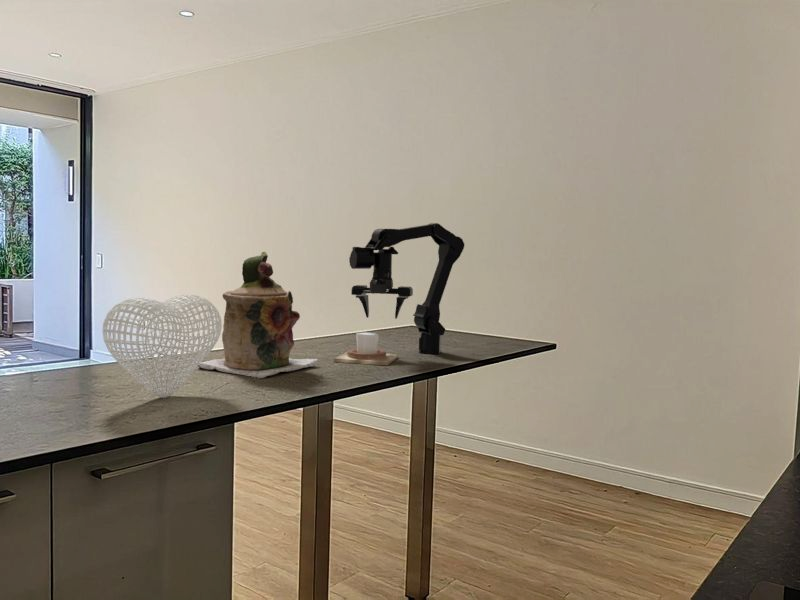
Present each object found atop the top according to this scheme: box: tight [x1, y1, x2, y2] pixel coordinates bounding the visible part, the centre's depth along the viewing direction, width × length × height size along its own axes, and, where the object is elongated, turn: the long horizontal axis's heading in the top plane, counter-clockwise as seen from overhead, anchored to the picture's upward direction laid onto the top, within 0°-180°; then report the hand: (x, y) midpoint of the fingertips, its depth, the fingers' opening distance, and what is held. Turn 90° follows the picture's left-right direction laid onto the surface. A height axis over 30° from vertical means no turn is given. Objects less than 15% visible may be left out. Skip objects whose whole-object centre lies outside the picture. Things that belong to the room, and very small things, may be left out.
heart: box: [102, 294, 223, 399], centre depth 155 cm, size 28×16×22 cm, turn 153°
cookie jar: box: [197, 251, 319, 379], centre depth 195 cm, size 25×25×32 cm
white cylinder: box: [355, 331, 380, 354], centre depth 215 cm, size 7×7×7 cm
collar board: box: [333, 348, 398, 366], centre depth 216 cm, size 16×15×2 cm
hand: (381, 318), depth 225 cm, fingers open, 9 cm apart
